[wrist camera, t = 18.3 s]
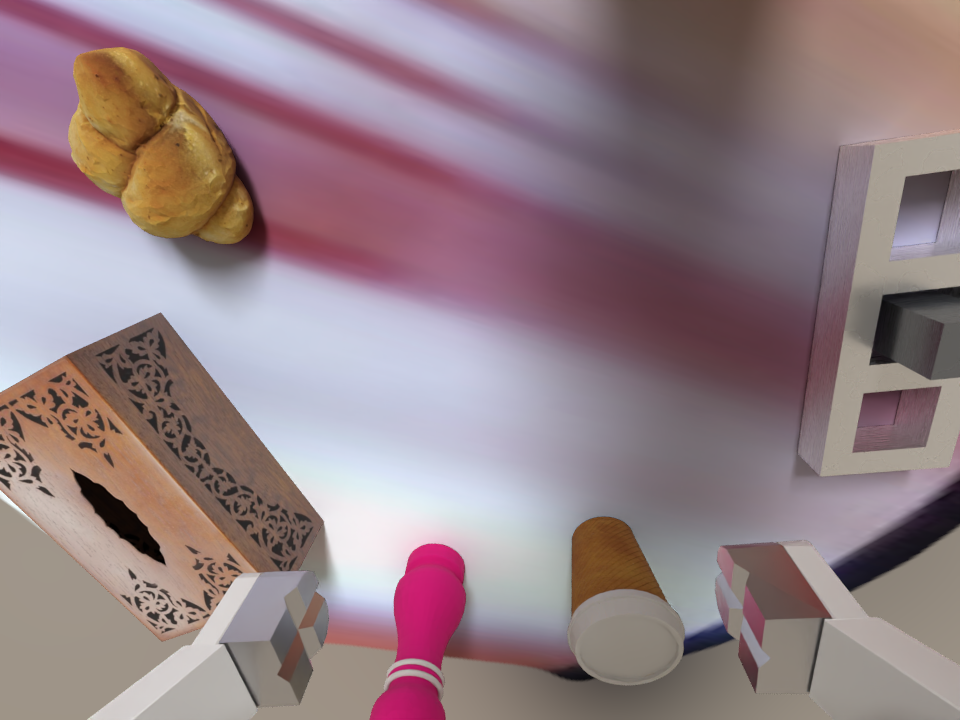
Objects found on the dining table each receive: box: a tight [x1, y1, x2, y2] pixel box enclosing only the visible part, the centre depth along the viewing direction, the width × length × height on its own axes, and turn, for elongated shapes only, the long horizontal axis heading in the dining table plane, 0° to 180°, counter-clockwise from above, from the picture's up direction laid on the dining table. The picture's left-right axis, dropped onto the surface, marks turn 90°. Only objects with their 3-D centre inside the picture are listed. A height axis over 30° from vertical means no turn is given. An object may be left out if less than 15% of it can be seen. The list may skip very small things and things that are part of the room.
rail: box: [797, 129, 960, 477], centre depth 36 cm, size 26×10×4 cm, turn 8°
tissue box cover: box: [0, 313, 323, 641], centre depth 43 cm, size 26×14×10 cm, turn 27°
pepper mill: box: [370, 544, 466, 720], centre depth 43 cm, size 7×7×20 cm
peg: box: [872, 289, 960, 380], centre depth 34 cm, size 4×4×8 cm
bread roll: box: [68, 47, 254, 244], centre depth 33 cm, size 13×10×8 cm
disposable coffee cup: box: [567, 517, 685, 685], centre depth 43 cm, size 10×10×12 cm
